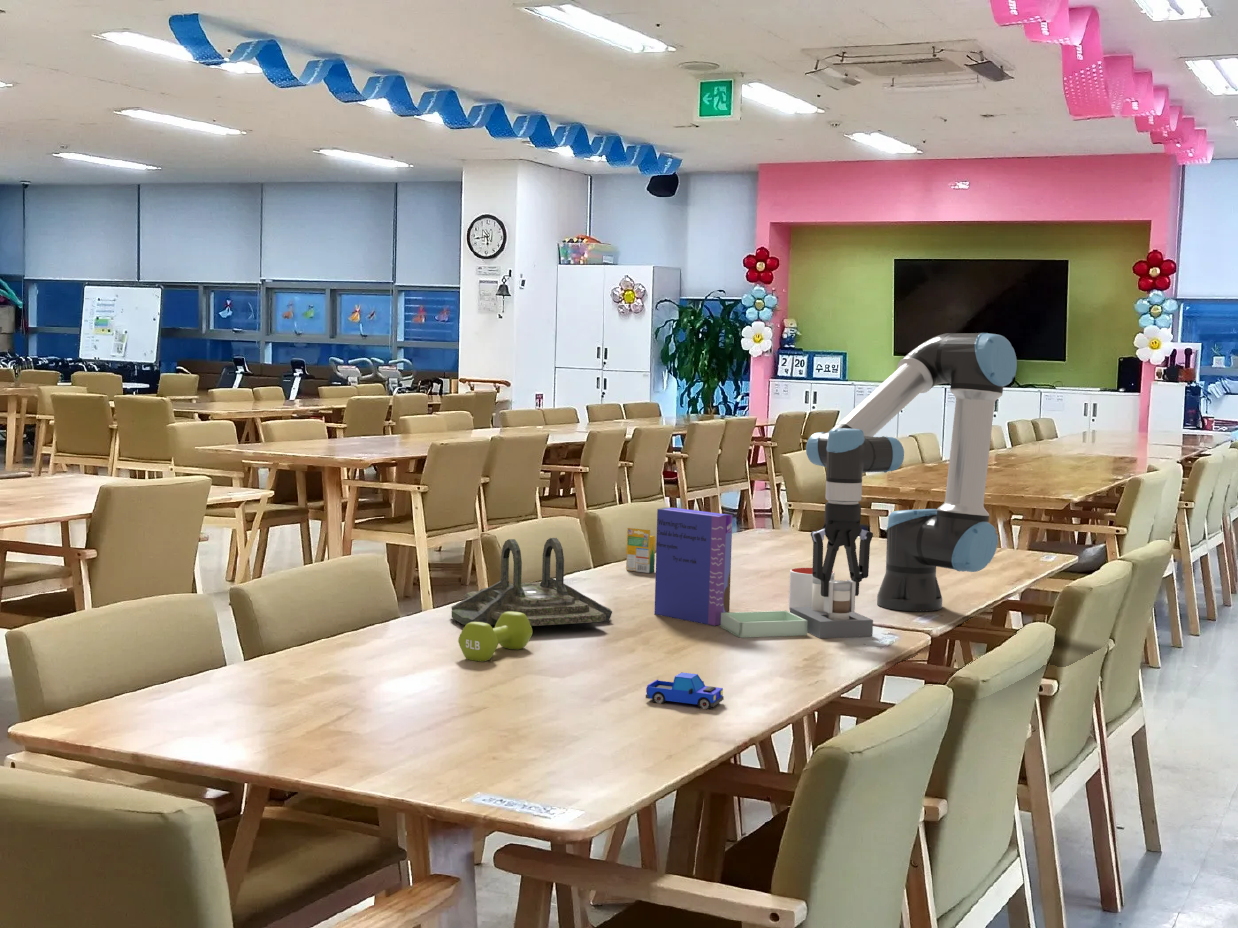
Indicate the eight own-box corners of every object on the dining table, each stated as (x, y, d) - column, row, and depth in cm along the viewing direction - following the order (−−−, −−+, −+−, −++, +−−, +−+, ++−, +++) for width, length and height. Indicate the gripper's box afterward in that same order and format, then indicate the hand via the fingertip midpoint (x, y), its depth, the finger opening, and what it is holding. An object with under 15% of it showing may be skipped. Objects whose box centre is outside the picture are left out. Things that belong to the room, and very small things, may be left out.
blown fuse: (843, 630, 295) (845, 579, 294) (852, 634, 291) (854, 583, 290) (824, 631, 294) (826, 580, 293) (833, 635, 290) (835, 583, 289)
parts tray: (786, 624, 300) (786, 610, 300) (807, 635, 290) (807, 620, 289) (720, 626, 296) (720, 612, 296) (739, 637, 285) (739, 622, 285)
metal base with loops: (433, 610, 308) (434, 530, 307) (573, 603, 322) (575, 526, 320) (481, 641, 276) (483, 552, 275) (635, 632, 290) (637, 547, 288)
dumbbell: (489, 665, 256) (490, 626, 255) (453, 659, 259) (454, 621, 259) (535, 649, 270) (536, 612, 270) (501, 644, 274) (502, 608, 273)
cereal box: (729, 623, 300) (732, 514, 298) (715, 626, 297) (718, 515, 295) (668, 611, 312) (671, 506, 310) (654, 614, 308) (657, 507, 306)
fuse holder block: (839, 621, 305) (841, 572, 305) (872, 636, 290) (874, 584, 289) (789, 623, 302) (791, 573, 301) (819, 638, 287) (821, 585, 286)
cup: (831, 620, 307) (833, 575, 307) (786, 617, 309) (788, 573, 309) (833, 611, 317) (835, 568, 316) (790, 609, 319) (791, 566, 318)
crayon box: (654, 572, 368) (656, 529, 367) (649, 573, 365) (650, 530, 365) (631, 569, 372) (632, 526, 371) (625, 570, 369) (626, 527, 368)
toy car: (712, 713, 226) (713, 683, 226) (643, 704, 230) (644, 675, 230) (724, 704, 232) (725, 675, 232) (657, 695, 237) (658, 667, 236)
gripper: (872, 499, 296) (868, 607, 298) (797, 500, 291) (793, 609, 293) (889, 503, 289) (884, 613, 291) (812, 504, 284) (808, 616, 286)
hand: (839, 611), depth 292 cm, fingers closed on blown fuse, 4 cm apart
